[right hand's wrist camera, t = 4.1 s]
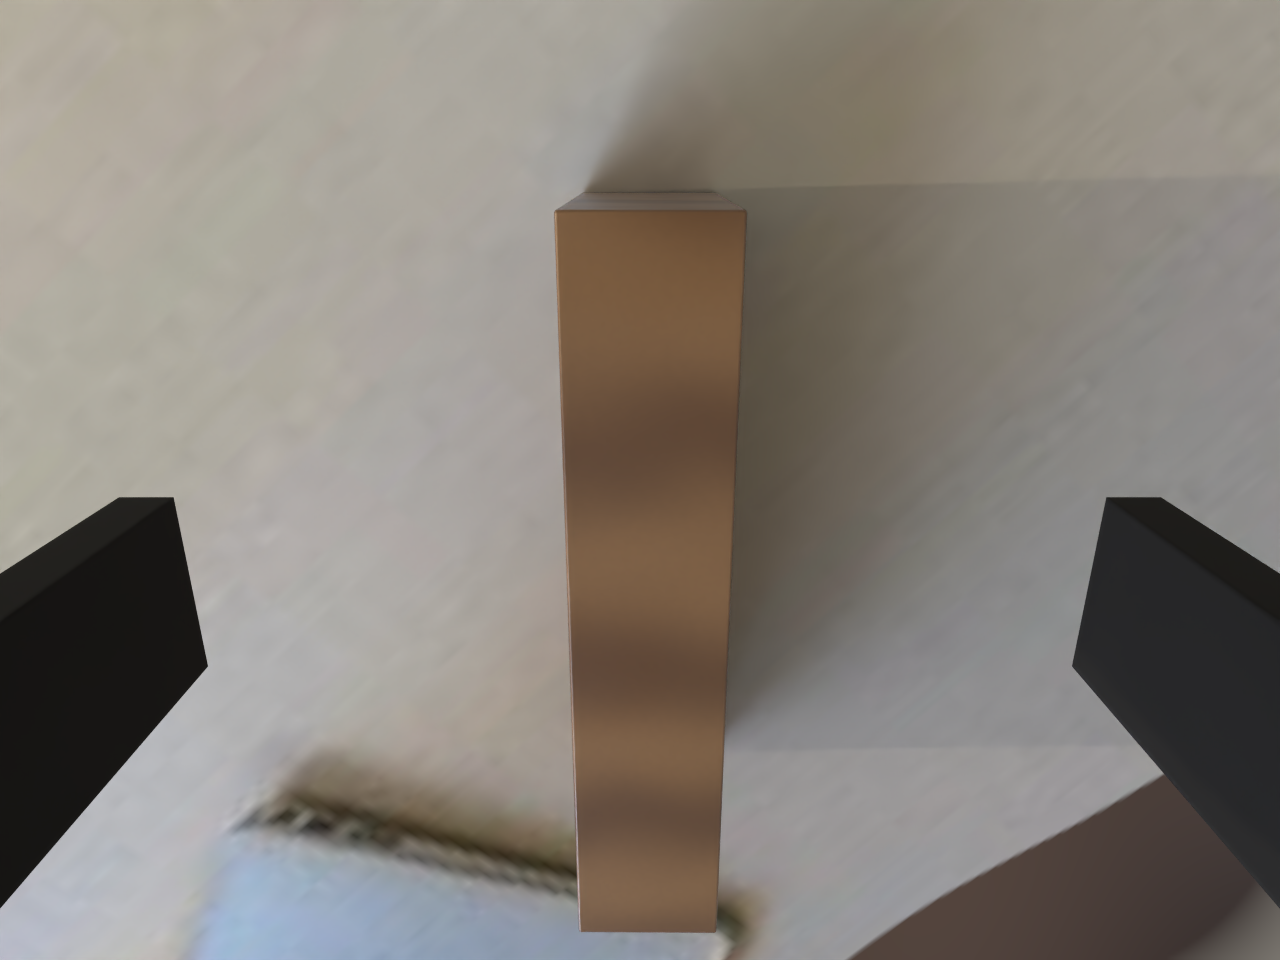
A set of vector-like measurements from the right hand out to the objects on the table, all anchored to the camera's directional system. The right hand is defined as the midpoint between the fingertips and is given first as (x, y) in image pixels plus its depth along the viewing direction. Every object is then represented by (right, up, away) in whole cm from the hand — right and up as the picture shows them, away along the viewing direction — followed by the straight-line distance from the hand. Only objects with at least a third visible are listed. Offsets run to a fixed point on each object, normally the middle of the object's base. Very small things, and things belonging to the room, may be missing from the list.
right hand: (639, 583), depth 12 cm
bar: (0, 0, +20) cm, 20 cm away
